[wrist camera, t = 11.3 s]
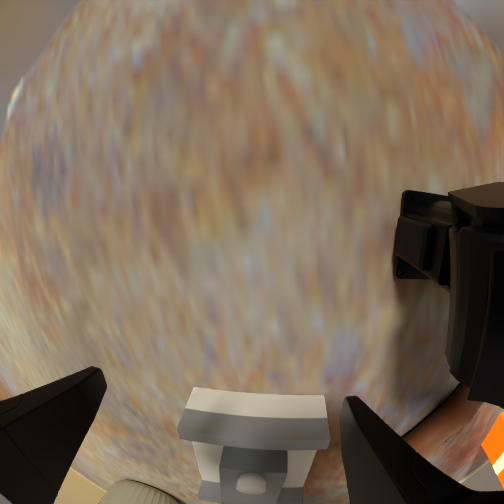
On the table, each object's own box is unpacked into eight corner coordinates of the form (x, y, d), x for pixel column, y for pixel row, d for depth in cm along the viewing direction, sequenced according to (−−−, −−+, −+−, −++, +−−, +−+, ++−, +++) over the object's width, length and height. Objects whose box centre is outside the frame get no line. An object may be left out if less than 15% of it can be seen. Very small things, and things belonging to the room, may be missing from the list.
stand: (323, 394, 22) (331, 439, 17) (300, 474, 26) (300, 507, 21) (193, 386, 23) (176, 428, 18) (207, 467, 27) (199, 499, 22)
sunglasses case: (401, 466, 25) (397, 494, 19) (373, 442, 28) (365, 469, 22) (498, 380, 21) (513, 398, 15) (471, 350, 24) (485, 365, 18)
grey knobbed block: (274, 483, 23) (272, 518, 18) (226, 478, 23) (219, 513, 18) (287, 438, 20) (287, 484, 15) (226, 433, 21) (216, 478, 16)
